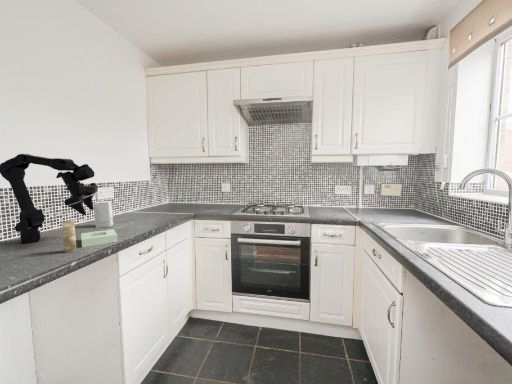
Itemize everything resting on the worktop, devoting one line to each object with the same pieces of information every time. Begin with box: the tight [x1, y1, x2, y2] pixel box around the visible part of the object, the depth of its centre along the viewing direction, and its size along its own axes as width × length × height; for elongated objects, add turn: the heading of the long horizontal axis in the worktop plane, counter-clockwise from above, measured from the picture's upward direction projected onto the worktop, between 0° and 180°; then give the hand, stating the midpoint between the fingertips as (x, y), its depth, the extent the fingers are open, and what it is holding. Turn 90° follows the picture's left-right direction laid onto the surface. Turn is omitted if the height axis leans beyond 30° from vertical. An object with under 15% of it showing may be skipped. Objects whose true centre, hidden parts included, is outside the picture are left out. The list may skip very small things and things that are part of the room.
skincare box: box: [93, 200, 114, 229], centre depth 145 cm, size 8×7×16 cm
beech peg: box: [62, 220, 77, 254], centre depth 100 cm, size 4×4×13 cm
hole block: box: [80, 228, 119, 248], centre depth 115 cm, size 14×14×4 cm
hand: (88, 212), depth 117 cm, fingers open, 9 cm apart
